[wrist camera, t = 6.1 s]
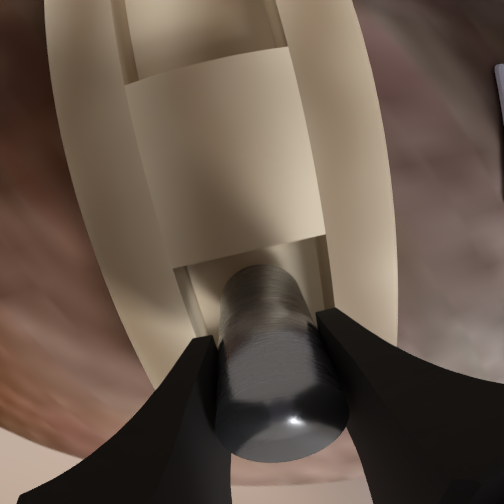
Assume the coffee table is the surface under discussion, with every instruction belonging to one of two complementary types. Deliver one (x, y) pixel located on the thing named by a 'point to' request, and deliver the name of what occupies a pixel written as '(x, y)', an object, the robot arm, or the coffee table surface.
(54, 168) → the coffee table surface
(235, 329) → the grey cylinder
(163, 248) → the tool board
